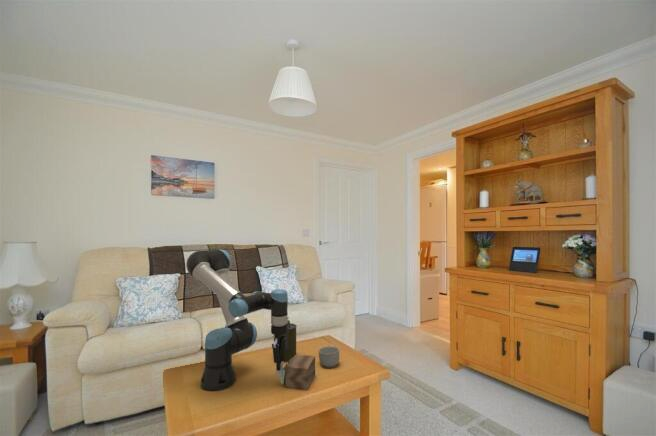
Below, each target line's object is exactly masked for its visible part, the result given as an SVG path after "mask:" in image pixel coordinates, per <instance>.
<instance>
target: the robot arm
mask: <svg viewBox="0 0 656 436" xmlns="http://www.w3.org/2000/svg"><path fill="white" fill-rule="evenodd" d="M231 262H232V259H231V256H230V254H229V252H227V251H226V250H224V249H220V248H219V249H216V248H215V249H207V250H206V249H205V250H197V251H194V252H192V253H191V254H190V255H189V256H188V257H187V259H186V262H185V263H186V265H185V266H186V270H187V272H188V274H189V275H190V277H192V278H193V279H195V280H199V281H200V282H201V283H203V285H205V286H206V287H207V288H208V289H209V290H210V291H212V292H213V293H214V295H216V297H217V300H218V303H219V305H220V310H221V312H222V315H223V318H224V320H225V326H224V327H220V328H219V327H218V328H215V329H212V330H211V331H209V332H207V334H206V336H205V338H204V339H205V340H204V341H205V342H204V348H205V349H204V361H205V362H204V369H203V372H202V376H201V379H200V387H201V389H203V390H204V391H208V392H209V391H211V392H215V391H221V390H225V389H228V388H229V387H231V386H233V385H234V384H235V383H236V379H237V378H236V377H237V376H236V373H235V369H234V367H233V364H232V363H233V358H232V356H233V355H235V354H238V353H240V352H242V351H244V350H247V349H249V348H250V347H252V346H253V345H255V342H256V341H257V337H258V331H257V328H256V325H255V324H254V323H252V322H249V320H248V317H245V315H249V314H251V313H255V312H258V311H261V310H267V311H268V310H269V311H270V324H271V325H270V333H271V334H272V335H274V336H273V337H274V338H273V343H272V344H271V347H272V354H273V355H272V356H273V363H274V364H275V377H276V378H282V371H283V368H284V362H283V361H285V359H283V358H284V357H285V345H286V337H287V336H286V335H285V334H286V333H287V332H288V325H287V323H288V320H289V319H290V318H289V315H288V304H289V298H288V297H289V296H288V291H287V290H286V289H281V288H277V289H272V290H271V293H270V292H264V291H254V292H252V294H250V295H244V294H243V292H241V291H239V289H238V288H236V287H235V286H233V285H232V282H231V279H230V277H229V271H230V267H231Z"/></svg>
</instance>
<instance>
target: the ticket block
mask: <svg viewBox="0 0 656 436" xmlns="http://www.w3.org/2000/svg"><path fill="white" fill-rule="evenodd" d="M287 364H288V365H287V366H286V382H285V388H286V389H292V390H303V391H308V389H309V388H310V386H311V384H312V382H313V381H314V379H315V377H316V356H315V355H306V354H304V355H303V354H296V355H295V356H294V357H293V358H292V359H291V361H290V362H289V363H288V362H287Z"/></svg>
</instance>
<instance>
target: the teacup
mask: <svg viewBox="0 0 656 436" xmlns="http://www.w3.org/2000/svg"><path fill="white" fill-rule="evenodd" d="M318 358H319V360H318V361H319V363H320V364H321V365H322V366H323V367H324V368H333V367H335V366H337V365H338V363H339V361H340V348H339V347H337V346H335V345H330V344H328V345H326V346H322V347H320V348H318Z"/></svg>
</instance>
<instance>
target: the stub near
mask: <svg viewBox="0 0 656 436" xmlns="http://www.w3.org/2000/svg"><path fill="white" fill-rule="evenodd" d="M287 365H288V363H286V364H285V365H283V371H282V377H281V381H280V385H283V386H284V385H285V384H286V366H287Z"/></svg>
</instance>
